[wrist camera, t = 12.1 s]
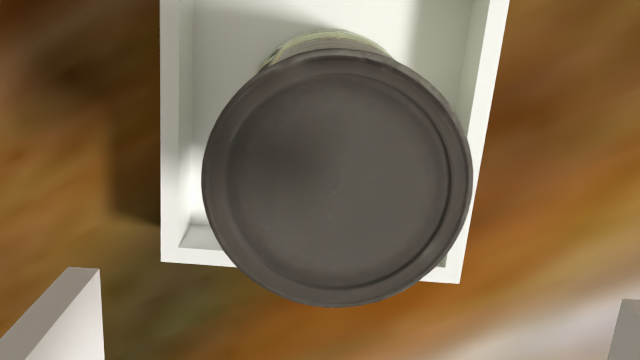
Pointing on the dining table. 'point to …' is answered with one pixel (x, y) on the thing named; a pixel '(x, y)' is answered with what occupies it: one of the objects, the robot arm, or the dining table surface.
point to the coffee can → (336, 173)
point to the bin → (264, 37)
